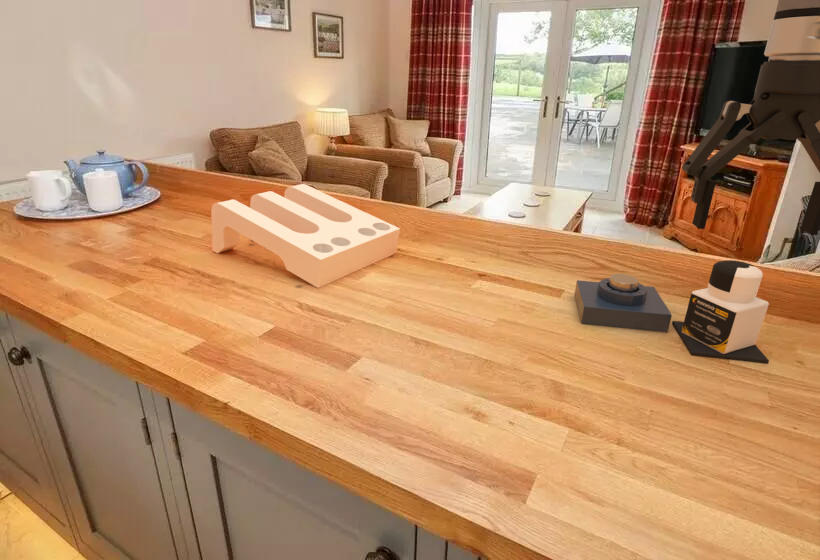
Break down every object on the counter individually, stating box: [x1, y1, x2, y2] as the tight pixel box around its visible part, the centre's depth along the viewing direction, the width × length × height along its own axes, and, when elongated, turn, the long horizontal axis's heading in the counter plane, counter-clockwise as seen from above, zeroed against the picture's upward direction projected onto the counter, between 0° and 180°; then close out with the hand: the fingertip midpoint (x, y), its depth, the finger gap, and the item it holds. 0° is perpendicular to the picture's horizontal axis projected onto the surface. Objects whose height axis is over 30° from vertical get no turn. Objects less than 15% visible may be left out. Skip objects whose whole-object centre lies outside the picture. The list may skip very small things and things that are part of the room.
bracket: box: [210, 183, 401, 289], centre depth 107 cm, size 24×12×32 cm
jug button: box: [608, 273, 640, 293], centre depth 81 cm, size 4×4×2 cm
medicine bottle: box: [682, 259, 770, 354], centre depth 72 cm, size 7×7×12 cm
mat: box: [671, 320, 770, 365], centre depth 74 cm, size 10×10×1 cm
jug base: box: [574, 277, 673, 334], centre depth 82 cm, size 13×11×5 cm
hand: (752, 229), depth 67 cm, fingers open, 13 cm apart
